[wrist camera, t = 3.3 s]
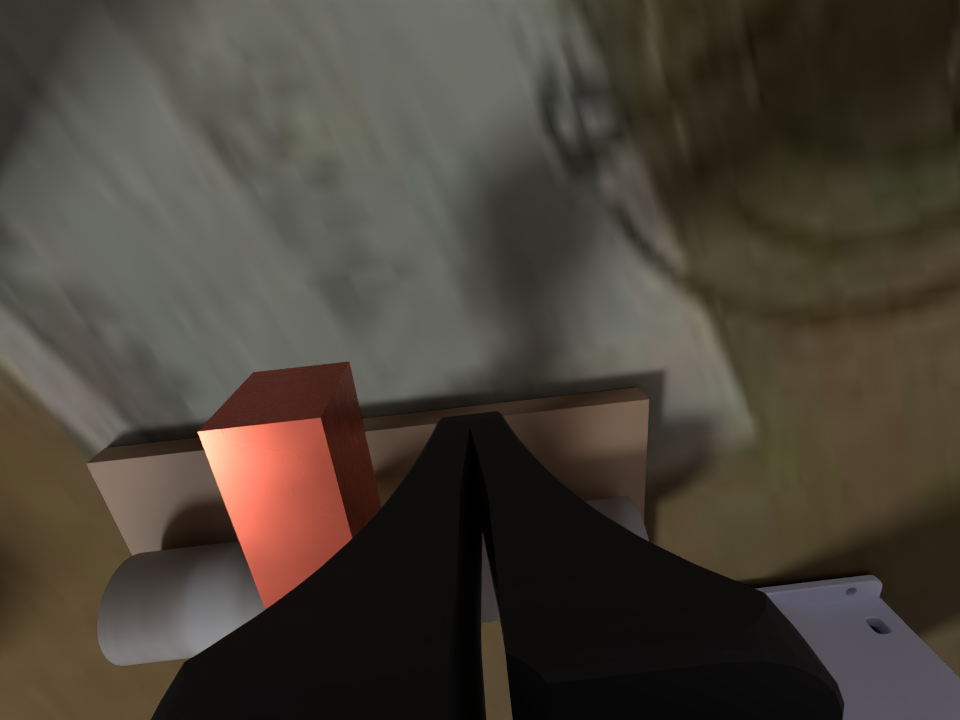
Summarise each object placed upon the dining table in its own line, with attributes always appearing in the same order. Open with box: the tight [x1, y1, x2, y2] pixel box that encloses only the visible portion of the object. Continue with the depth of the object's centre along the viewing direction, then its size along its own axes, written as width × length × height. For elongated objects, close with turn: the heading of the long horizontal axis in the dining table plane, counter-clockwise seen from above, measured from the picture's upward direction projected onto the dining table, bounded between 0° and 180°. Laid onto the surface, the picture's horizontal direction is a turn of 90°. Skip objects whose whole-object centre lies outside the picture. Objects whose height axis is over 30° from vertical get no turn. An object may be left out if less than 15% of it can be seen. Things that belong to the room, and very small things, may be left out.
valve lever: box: [198, 362, 382, 608], centre depth 12 cm, size 10×2×3 cm, turn 6°
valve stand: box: [86, 387, 649, 666], centre depth 17 cm, size 20×10×6 cm, turn 96°
